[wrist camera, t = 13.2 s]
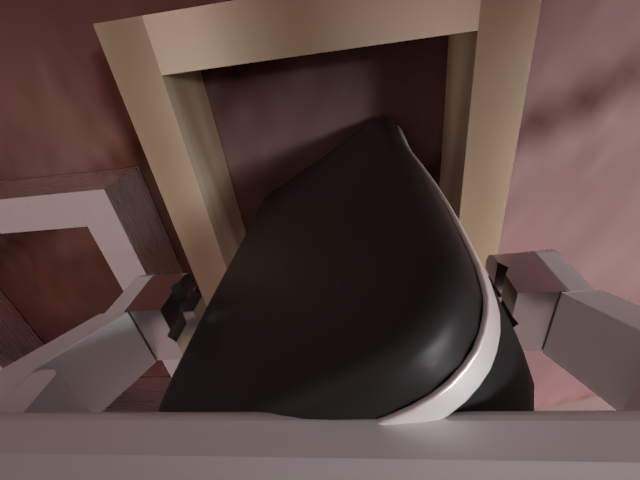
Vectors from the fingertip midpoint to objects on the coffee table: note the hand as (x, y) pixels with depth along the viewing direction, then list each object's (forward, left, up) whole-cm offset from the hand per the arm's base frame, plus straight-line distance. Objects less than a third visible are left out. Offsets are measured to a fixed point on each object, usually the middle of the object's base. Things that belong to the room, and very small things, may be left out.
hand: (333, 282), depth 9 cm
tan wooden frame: (0, 0, -6) cm, 6 cm away
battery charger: (0, 0, -7) cm, 7 cm away
